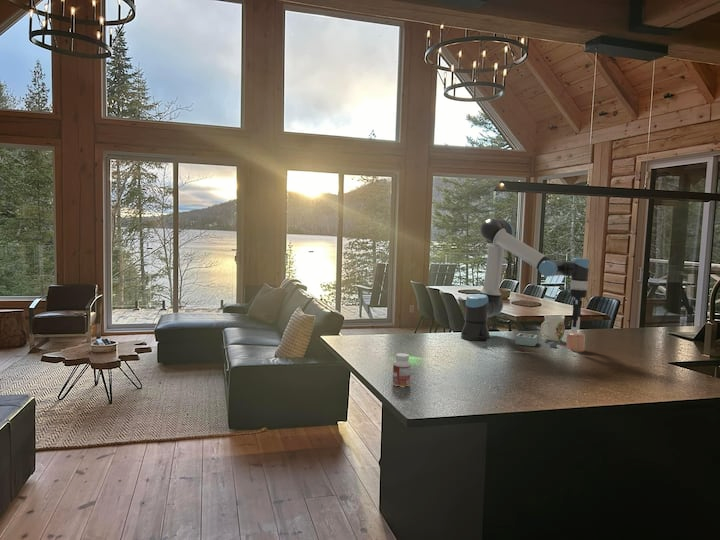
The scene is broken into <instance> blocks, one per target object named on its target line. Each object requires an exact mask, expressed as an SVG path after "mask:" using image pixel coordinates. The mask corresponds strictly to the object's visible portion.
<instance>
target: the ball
mask: <svg viewBox="0 0 720 540" xmlns="http://www.w3.org/2000/svg"><path fill="white" fill-rule="evenodd" d="M549 348H553V349H554V348H557V343H556V341H550V343H549Z"/></svg>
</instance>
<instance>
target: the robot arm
mask: <svg viewBox="0 0 720 540" xmlns="http://www.w3.org/2000/svg"><path fill="white" fill-rule="evenodd" d="M512 225H513V224H511V223H510V222H509V221H507V220H505V219H502V218H501V219H498V218H489V219H486V220H484V221H483V222H482V223H481V226H480V234H481V237H482V238H483V239H485V240H486V244H487V246H488V250H487V257H486V265H485V273H484V281H483V287H482V289H481V290H480V291H479V293H476V294H474V293H473V294H469V295H467V297H466V300H465V310H464V311H465V314H464V324H463V327H462V330H461V333H460V338H462V339H464V340H467V341H468V340H469V341H475V342H476V341H478V342H480V341H481V342H484V341H487V340H490V339H491V337H490V336H491V335H490V331H489V328H488V318H492V317H495V316H498V315H499V314H500V313H501V312H502V310H503V308H504V302H503V300H502V293H501V291H500V287H501V277H502V271H503V265H504V264H503V263H504V256H505V250H506V251H507V252H509V253H511V254H513V255H514V256H515V257H517V258H519V259H521V260H522V261H524V262H525V263H527V264H529V266H531V267H533V268H535V269H537V270H538V272H539V273H540V274H541V275H542V276H545V277H555V276H556V277H557V276H565V277H571V279H570V291H569V292H570V293H569V296H570V297H572V298H574V299H573V301H572V316H571V317H570V320H571V325H570V326H571V328H570V329H571V330H570V332H571V333H573V334H577V333H578V331H580V326H581V325H580V324H581V317H583V314H582V313H581V312H582V306H583V299H582V298H584V299H585V298H587V292H588V291H587V289H588V286H589V282H588V280H589V272H590V260H589V259H588V258H586V257H574V258H572V261H571V260H561V259H559V260H558V259H551V258H549V257H547V256H546V255H544V254H543V253H542V252H540V251H538V250H536V249H535V248H533V247H532V246H529V245H528V244H526V243H525V242H523V241H522V240H520V239H518V238H516V237H515V236H514V228H513V226H512Z"/></svg>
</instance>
